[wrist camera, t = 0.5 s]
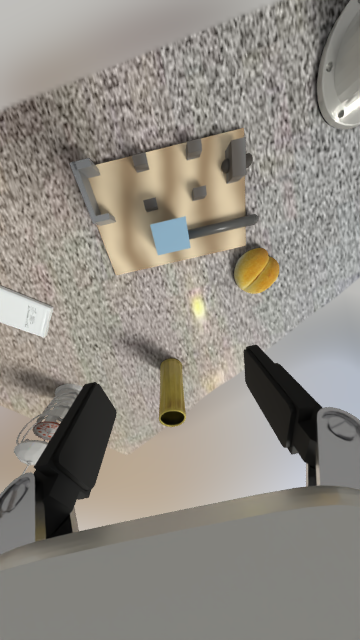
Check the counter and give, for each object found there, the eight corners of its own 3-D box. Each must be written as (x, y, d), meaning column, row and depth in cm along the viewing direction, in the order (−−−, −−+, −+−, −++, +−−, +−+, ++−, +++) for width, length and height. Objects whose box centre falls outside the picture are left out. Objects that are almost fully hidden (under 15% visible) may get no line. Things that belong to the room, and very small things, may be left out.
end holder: (98, 168, 23) (89, 157, 20) (116, 222, 26) (110, 219, 24) (80, 172, 23) (69, 162, 21) (100, 225, 26) (92, 223, 24)
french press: (95, 404, 46) (27, 552, 24) (57, 409, 46) (-48, 563, 24) (84, 381, 42) (-13, 534, 20) (41, 386, 42) (-105, 547, 19)
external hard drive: (-13, 278, 30) (55, 306, 33) (-15, 312, 33) (48, 334, 36) (-22, 279, 29) (50, 308, 32) (-24, 315, 31) (43, 338, 35)
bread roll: (251, 240, 30) (263, 239, 26) (279, 267, 33) (293, 270, 29) (223, 275, 33) (230, 278, 29) (251, 298, 35) (260, 303, 32)
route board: (246, 130, 23) (258, 112, 20) (247, 244, 30) (256, 244, 27) (78, 172, 24) (65, 161, 21) (117, 274, 31) (111, 277, 28)
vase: (157, 360, 41) (152, 412, 28) (179, 355, 41) (184, 405, 28) (163, 376, 44) (161, 430, 31) (184, 372, 43) (190, 424, 30)
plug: (255, 206, 27) (282, 193, 20) (255, 231, 28) (279, 227, 22) (154, 230, 27) (150, 224, 21) (160, 253, 29) (157, 255, 23)
